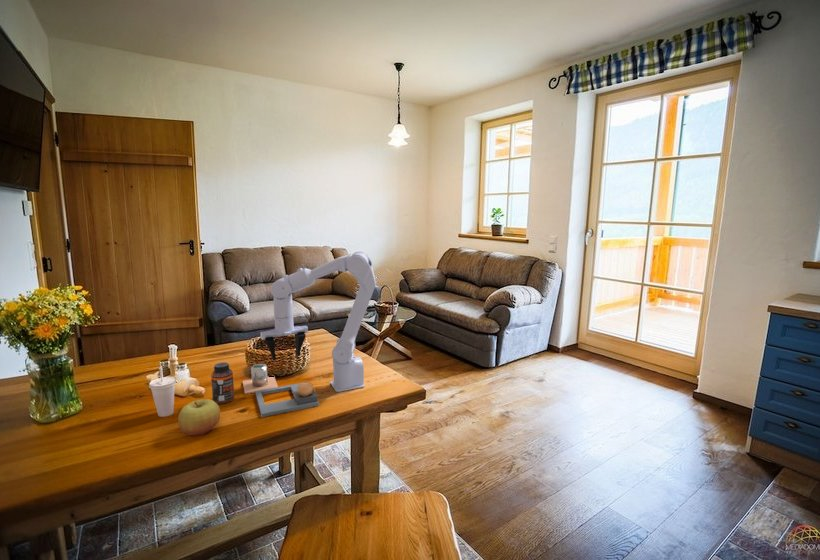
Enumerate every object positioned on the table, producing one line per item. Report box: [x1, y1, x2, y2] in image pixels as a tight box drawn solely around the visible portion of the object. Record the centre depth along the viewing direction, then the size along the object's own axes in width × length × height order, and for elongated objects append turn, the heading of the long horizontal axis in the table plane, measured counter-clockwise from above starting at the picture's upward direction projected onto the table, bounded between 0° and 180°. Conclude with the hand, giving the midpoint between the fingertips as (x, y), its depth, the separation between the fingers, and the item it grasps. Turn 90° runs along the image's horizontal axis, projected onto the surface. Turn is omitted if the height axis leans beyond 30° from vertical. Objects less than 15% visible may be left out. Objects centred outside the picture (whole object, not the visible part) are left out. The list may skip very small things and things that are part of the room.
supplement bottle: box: [210, 362, 235, 405], centre depth 122 cm, size 6×6×11 cm
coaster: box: [242, 376, 279, 395], centre depth 133 cm, size 10×10×1 cm
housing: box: [254, 381, 320, 418], centre depth 123 cm, size 16×16×3 cm
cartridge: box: [250, 363, 269, 387], centre depth 132 cm, size 5×5×7 cm
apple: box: [177, 398, 221, 436], centre depth 105 cm, size 10×10×8 cm
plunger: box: [297, 382, 314, 397], centre depth 121 cm, size 4×4×4 cm
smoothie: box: [148, 366, 177, 418], centre depth 113 cm, size 6×6×14 cm
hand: (285, 357), depth 131 cm, fingers open, 7 cm apart
